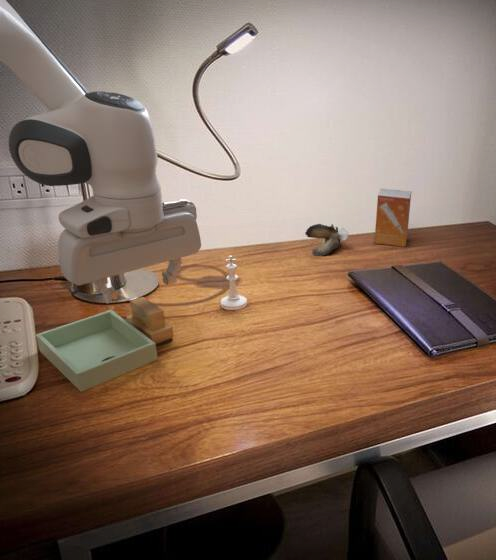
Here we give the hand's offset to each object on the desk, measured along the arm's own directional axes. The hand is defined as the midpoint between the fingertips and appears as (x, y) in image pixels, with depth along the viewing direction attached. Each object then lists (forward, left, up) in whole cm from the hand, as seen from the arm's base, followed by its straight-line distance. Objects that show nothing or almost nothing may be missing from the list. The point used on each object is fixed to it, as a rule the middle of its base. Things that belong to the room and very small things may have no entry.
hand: (141, 291), depth 84 cm
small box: (-2, +65, -9) cm, 66 cm away
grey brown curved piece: (-9, +49, -9) cm, 51 cm away
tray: (0, -8, -9) cm, 12 cm away
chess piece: (-1, +17, -9) cm, 19 cm away
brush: (0, 0, -9) cm, 9 cm away
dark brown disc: (+5, -8, -8) cm, 13 cm away
